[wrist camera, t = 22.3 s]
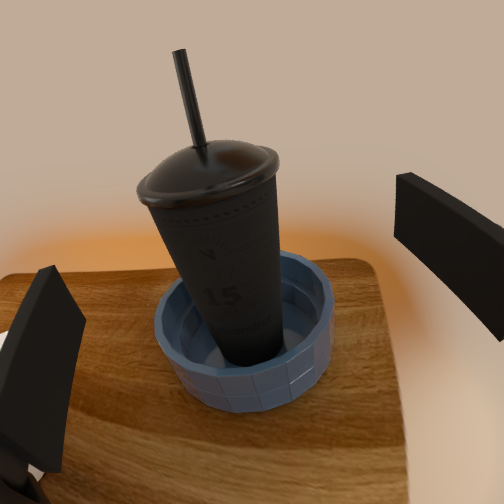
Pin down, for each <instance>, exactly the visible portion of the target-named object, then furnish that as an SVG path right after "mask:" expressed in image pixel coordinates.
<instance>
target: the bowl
mask: <svg viewBox="0 0 504 504" xmlns="http://www.w3.org/2000/svg"><path fill="white" fill-rule="evenodd" d="M280 264H281V287H282V313H283V345H282V348H281V350H280V351H279V353H278V354H277V355H276V356H275V357H274V358H273V359H272V360H269V361H266V362H263V363H260V364H257V365H254V366H251V367H240V366H236V365H234V364H232V363H230V362H229V361H227V360H226V359H225V358H224V356H223V355H222V353H221V351H220V349H219V348H218V346H217V344H216V342H215V340H214V339H213V337H212V335H211V333H210V331H209V329H208V328H207V326H206V324H205V322H204V320H203V318H202V316H201V315H200V313H199V311H198V309H197V307H196V305H195V303H194V301H193V299H192V297H191V295H190V294H189V292H188V290H187V288H186V286H185V284H184V282H183V280H182V278H181V277H180V278H178V279H177V280H176V281H175V282H174V283H173V284H172V285H171V286H170V287H169V289H168V290H167V291H166V293H165V294H164V295H163V296H162V298H161V299H160V302H159V304H158V307H157V310H156V313H155V315H154V329H155V338H156V340H157V341H158V343H159V345H160V347H161V349H162V350H163V352H164V354H165V356H166V357H167V359H168V361H169V362H170V364H171V366H172V368H173V369H174V371H175V373H176V374H177V376H178V378H179V379H180V381H181V382H182V384H183V386H184V387H185V389H186V390H187V392H188V393H190V394H191V395H193V396H194V397H195V398H197V399H198V400H200V401H201V402H202V403H204V404H205V405H207V406H210V407H213V408H217V409H220V410H224V411H228V412H232V413H233V412H234V413H245V412H263V411H266V410H269V409H272V408H275V407H278V406H281V405H284V404H287V403H289V402H291V401H293V400H295V399H296V398H298V397H299V396H300V395H302V394H303V393H305V392H306V391H307V390H309V389H310V388H311V387H313V386H314V385H315V384H316V383H317V381H318V380H319V379H320V377H321V376H322V374H323V373H324V371H325V370H326V368H327V367H328V366H329V364H330V360H331V356H332V352H333V348H334V338H335V299H334V295H333V291H332V287H331V283H330V280H329V279H328V278H327V276H326V275H325V274H324V273H323V271H322V270H321V269H320V268H319V267H318V266H317V265H316V264H314V263H312V262H311V261H309V260H307V259H306V258H304V257H302V256H300V255H296V254H293V253H289V252H285V251H282V250H280Z"/></svg>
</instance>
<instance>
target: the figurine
mask: <svg viewBox="0 0 504 504" xmlns="http://www.w3.org/2000/svg"><path fill="white" fill-rule="evenodd" d="M7 333H8V331H6V332H4V333H2V334H0V350H1V347H2V345H3V343H4V340H5V338H6V336H7Z"/></svg>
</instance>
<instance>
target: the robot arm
mask: <svg viewBox="0 0 504 504" xmlns="http://www.w3.org/2000/svg"><path fill="white" fill-rule="evenodd" d="M394 237H395V238H396V239H397V240H398V241H400V242H401V243H402V244H403V245H404V246H405V247H406V248H407V249H408V250H410V251H411V252H412V253H413V254H414V255H415V256H416V257H417V258H418V259H419V260H420V261H421V262H423V263H424V264H425V265H426V266H427V267H428V268H429V269H430V270H431V271H432V272H433V273H434V274H435V275H436V276H437V277H438V278H439V279H440V280H441V281H442V282H443V283H444V284H446V285H447V286H448V288H449V289H450V290H451V291H452V292H454V294H455V295H457V297H459V299H460V300H461V301H462V302H463V303H464V304H465V305H466V306H467V307H468V308H469V309H470V310H471V311H472V312H473V313H474V314H475V315H476V317H477V318H478V319H479V320H480V321H481V322H482V323H483V324H484V325H485V326H486V327H487V328H488V330H489V331H490V332H491V333H492V334H493V335H494V336H495V337H496V338H497V340H498V341H499V342H501V341H502V340H503V339H504V228H502V227H501V226H499V225H498V224H495V223H493V222H492V221H491V220H489V219H488V218H486V217H485V216H483V215H482V214H480V213H478V212H477V211H476V210H474V209H472V208H471V207H469V206H468V205H466V204H465V203H463V202H462V201H460V200H458V199H457V198H455V197H453V196H452V195H450V194H448V193H447V192H445V191H443V190H442V189H440V188H438V187H437V186H435V185H433V184H431V183H430V182H428V181H426V180H424V179H423V178H421V177H419V176H417V175H415V174H414V173H412V172H410V173H405V174H399V175H396V205H395V226H394ZM85 323H86V318H85V317H84V315H83V314H82V312H81V310H80V309H79V307H78V305H77V304H76V302H75V300H74V299H73V297H72V295H71V294H70V292H69V290H68V288H67V287H66V285H65V283H64V281H63V280H62V278H61V276H60V274H59V272H58V270H57V269H56V267H55V265H52V266H49V267H46V268H43V269H40V270H39V271H38V273H37V274H36V276H35V278H34V280H33V282H32V284H31V286H30V288H29V289H28V291H27V293H26V295H25V297H24V299H23V301H22V303H21V305H20V307H19V309H18V312H17V314H16V316H15V318H14V320H13V322H12V324H11V327H10V329H9V331H8V333H7V336H6V338H5V340H4V343H3V345H2V347H1V350H0V504H51V503H50V502H49V500H48V498H47V497H46V495H45V494H44V492H43V490H42V488H41V487H40V485H39V483H38V482H37V480H36V478H35V477H34V476H33V474H32V473H30V472H28V467H29V464H30V465H32V466H33V467H35V468H36V469H38V470H40V471H41V472H48V473H61V465H62V453H63V443H64V435H65V427H66V419H67V412H68V406H69V400H70V394H71V388H72V383H73V377H74V372H75V367H76V362H77V358H78V353H79V348H80V344H81V340H82V336H83V331H84V327H85Z"/></svg>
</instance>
